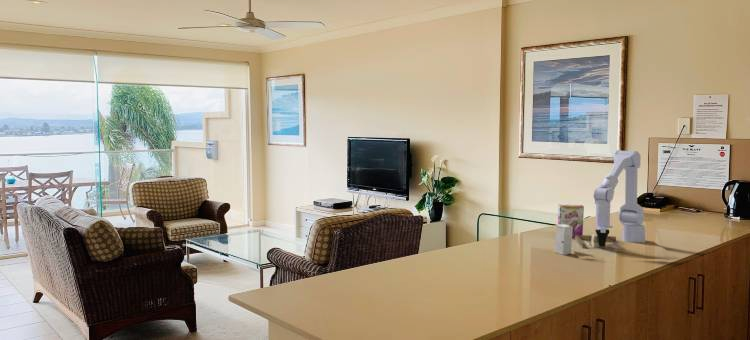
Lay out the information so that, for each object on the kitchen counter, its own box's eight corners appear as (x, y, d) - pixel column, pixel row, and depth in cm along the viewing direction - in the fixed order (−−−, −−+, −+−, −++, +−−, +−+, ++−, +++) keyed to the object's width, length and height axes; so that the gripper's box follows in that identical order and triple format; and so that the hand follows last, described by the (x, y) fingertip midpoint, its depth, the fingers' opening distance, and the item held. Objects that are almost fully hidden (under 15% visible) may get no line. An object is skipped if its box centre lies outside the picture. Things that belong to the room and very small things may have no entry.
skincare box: (554, 252, 254) (555, 224, 253) (563, 251, 255) (564, 224, 254) (563, 255, 248) (564, 226, 247) (572, 254, 249) (573, 226, 248)
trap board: (615, 243, 274) (615, 236, 273) (626, 252, 254) (626, 245, 254) (574, 241, 277) (575, 235, 276) (582, 250, 257) (582, 243, 257)
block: (603, 245, 263) (603, 234, 262) (605, 247, 258) (605, 236, 257) (591, 245, 263) (591, 233, 263) (593, 247, 258) (593, 236, 258)
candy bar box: (559, 239, 283) (560, 205, 281) (556, 237, 288) (557, 203, 286) (583, 239, 282) (584, 205, 280) (580, 237, 287) (581, 204, 285)
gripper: (613, 218, 246) (612, 250, 248) (611, 213, 260) (610, 243, 261) (595, 217, 249) (594, 249, 250) (594, 212, 262) (593, 242, 264)
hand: (601, 246), depth 256 cm, fingers closed
